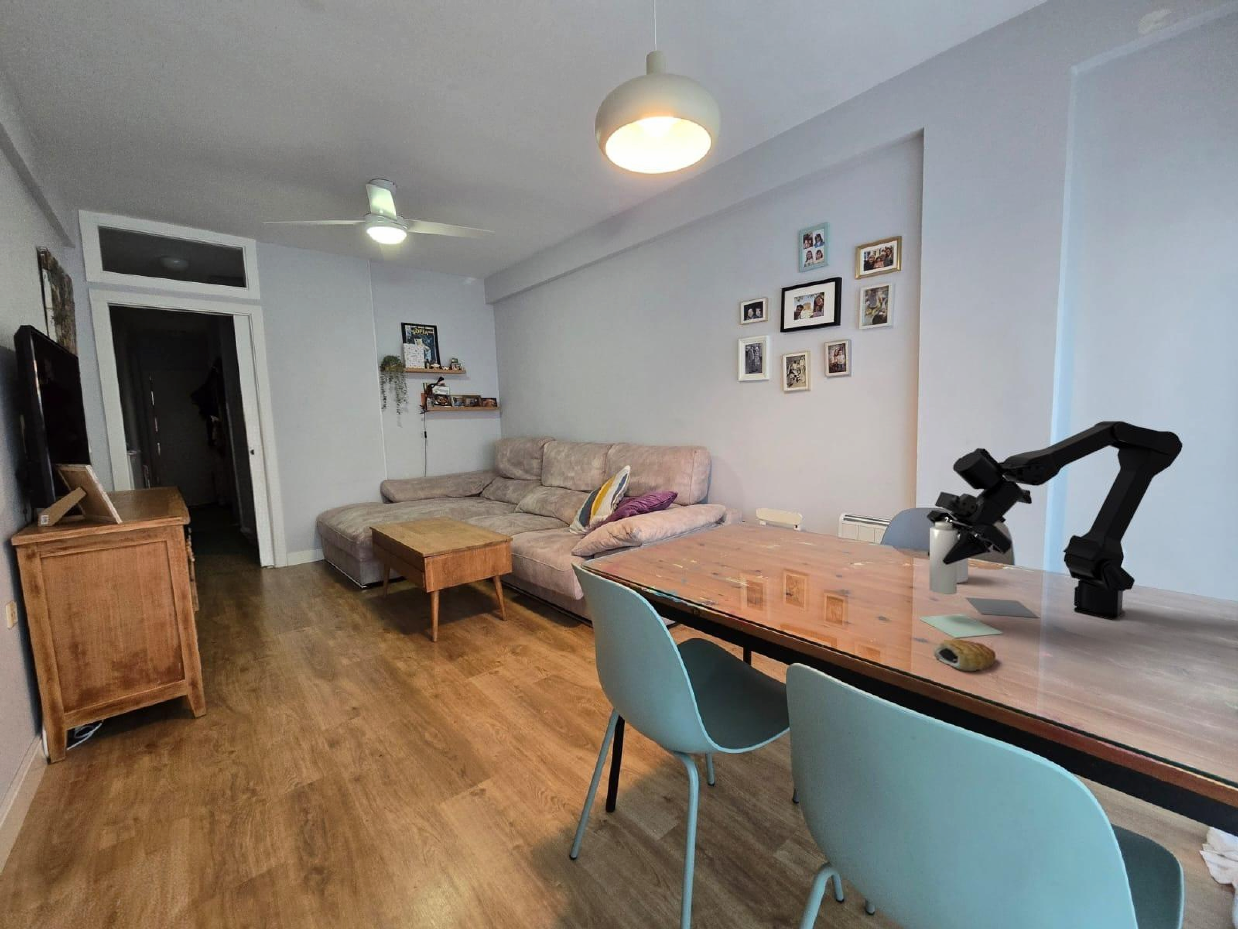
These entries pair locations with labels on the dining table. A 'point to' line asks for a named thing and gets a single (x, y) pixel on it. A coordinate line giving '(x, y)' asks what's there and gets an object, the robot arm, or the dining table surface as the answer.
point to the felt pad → (1001, 607)
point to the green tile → (959, 626)
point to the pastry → (965, 654)
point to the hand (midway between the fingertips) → (936, 559)
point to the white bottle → (940, 545)
